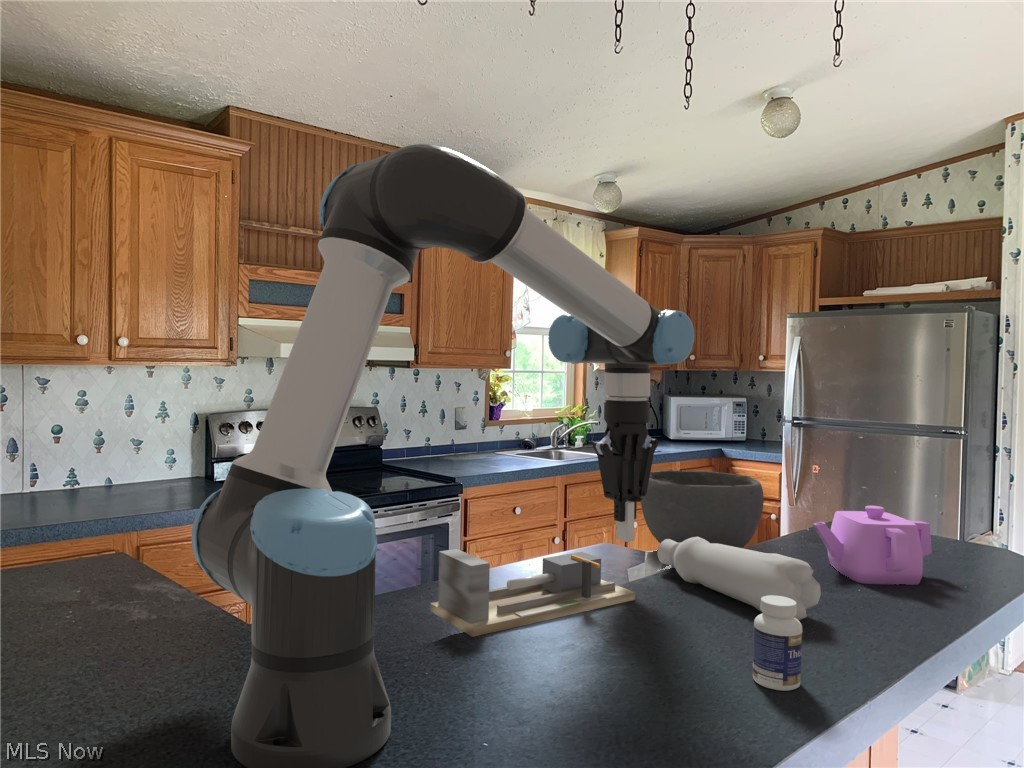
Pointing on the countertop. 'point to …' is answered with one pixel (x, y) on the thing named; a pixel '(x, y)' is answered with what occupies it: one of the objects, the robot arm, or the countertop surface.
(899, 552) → the teakettle
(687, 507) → the bowl
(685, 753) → the countertop surface
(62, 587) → the countertop surface
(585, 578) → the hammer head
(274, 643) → the robot arm
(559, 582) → the sliding vise jaw
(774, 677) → the pill bottle
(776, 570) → the bottle
